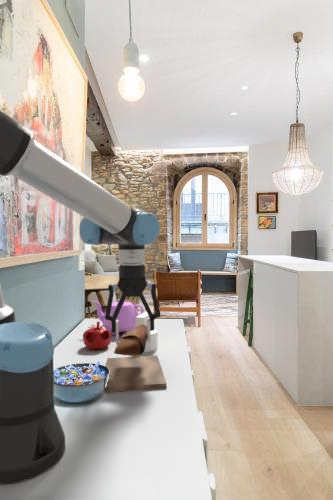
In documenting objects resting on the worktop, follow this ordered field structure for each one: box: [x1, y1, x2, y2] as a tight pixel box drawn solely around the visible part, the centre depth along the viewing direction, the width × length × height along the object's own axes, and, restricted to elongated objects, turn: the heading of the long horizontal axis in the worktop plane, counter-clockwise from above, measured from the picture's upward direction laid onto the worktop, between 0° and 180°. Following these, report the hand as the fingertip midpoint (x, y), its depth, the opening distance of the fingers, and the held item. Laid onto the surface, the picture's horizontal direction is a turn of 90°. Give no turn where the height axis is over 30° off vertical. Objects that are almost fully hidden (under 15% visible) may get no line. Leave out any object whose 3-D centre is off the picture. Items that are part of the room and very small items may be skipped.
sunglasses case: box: [113, 324, 147, 356], centre depth 102 cm, size 18×7×7 cm, turn 0°
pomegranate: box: [82, 321, 112, 351], centre depth 127 cm, size 10×10×9 cm
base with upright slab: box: [136, 311, 159, 353], centre depth 126 cm, size 9×9×12 cm
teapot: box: [92, 298, 145, 336], centre depth 147 cm, size 22×16×14 cm
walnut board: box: [104, 354, 168, 393], centre depth 102 cm, size 16×22×1 cm
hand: (133, 342), depth 102 cm, fingers closed on sunglasses case, 8 cm apart
